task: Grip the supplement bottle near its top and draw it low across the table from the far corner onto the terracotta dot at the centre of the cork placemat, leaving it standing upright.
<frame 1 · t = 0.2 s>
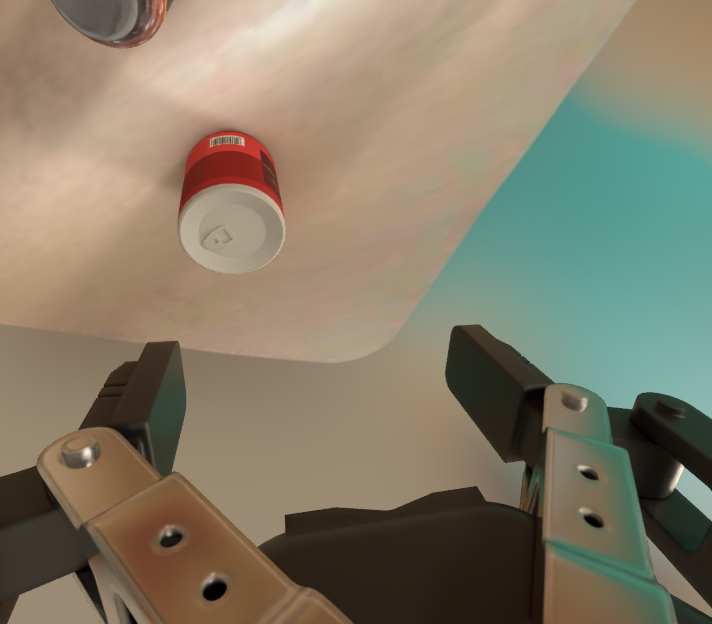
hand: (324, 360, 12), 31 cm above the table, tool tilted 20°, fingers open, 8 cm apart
canned food: (231, 168, 39), on the table
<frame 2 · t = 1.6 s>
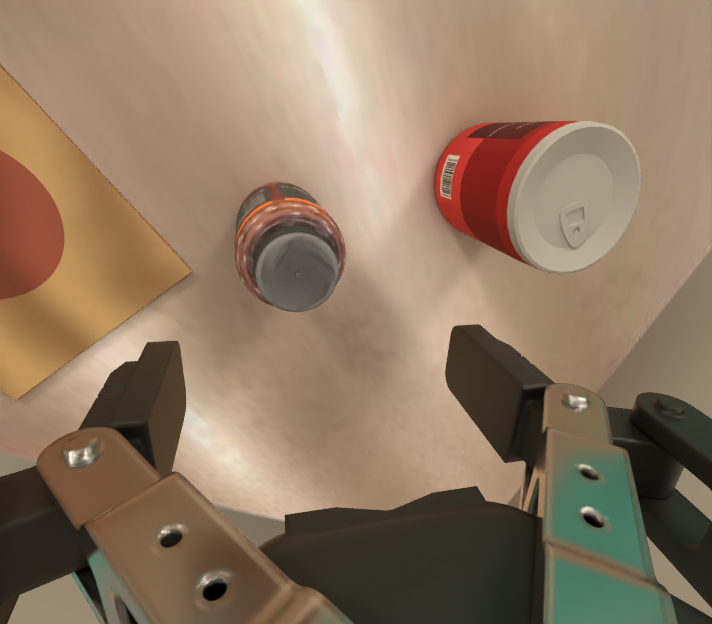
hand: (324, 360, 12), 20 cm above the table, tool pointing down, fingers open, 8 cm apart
canned food: (476, 180, 32), on the table
supplement bottle: (280, 223, 30), on the table
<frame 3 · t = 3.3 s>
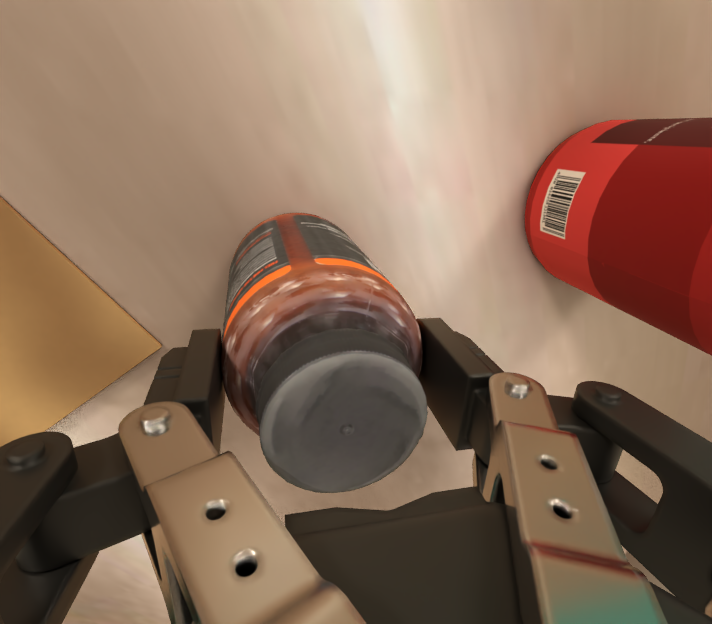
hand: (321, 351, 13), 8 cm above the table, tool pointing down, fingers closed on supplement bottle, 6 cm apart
canned food: (583, 204, 22), on the table
supplement bottle: (296, 272, 20), on the table, touching gripper
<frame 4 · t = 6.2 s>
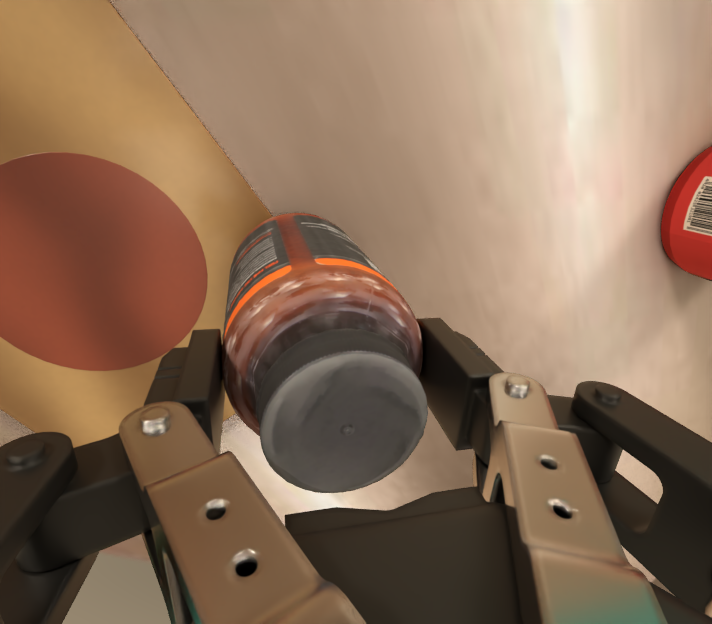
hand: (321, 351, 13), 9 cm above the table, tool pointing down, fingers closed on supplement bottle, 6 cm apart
placemat: (89, 271, 19), on the table
canned food: (709, 206, 25), on the table
supplement bottle: (296, 273, 20), point 1 cm above the table, touching gripper
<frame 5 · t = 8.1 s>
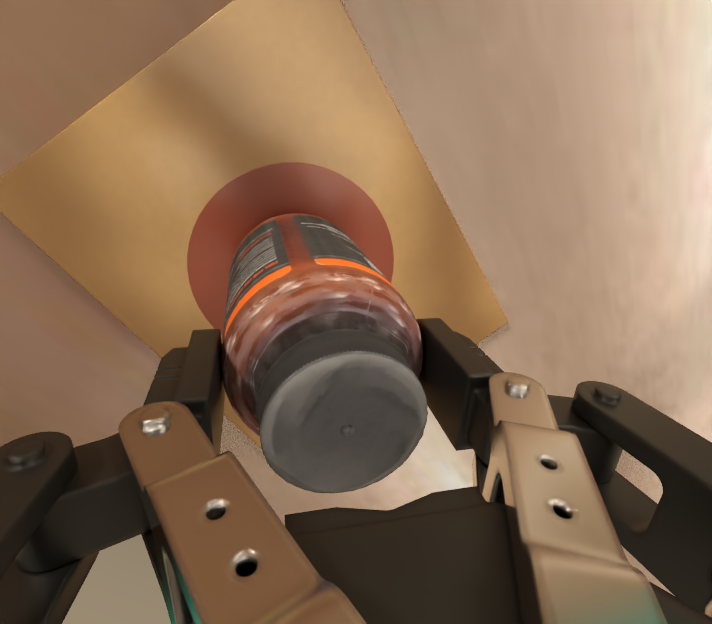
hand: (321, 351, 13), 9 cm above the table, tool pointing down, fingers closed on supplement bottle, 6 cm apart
placemat: (295, 269, 21), on the table
supplement bottle: (296, 273, 20), point 1 cm above the table, touching gripper
when the fingers open (8 cm above the table, at t = 9.1 s): supplement bottle stays where it is, resting on placemat.
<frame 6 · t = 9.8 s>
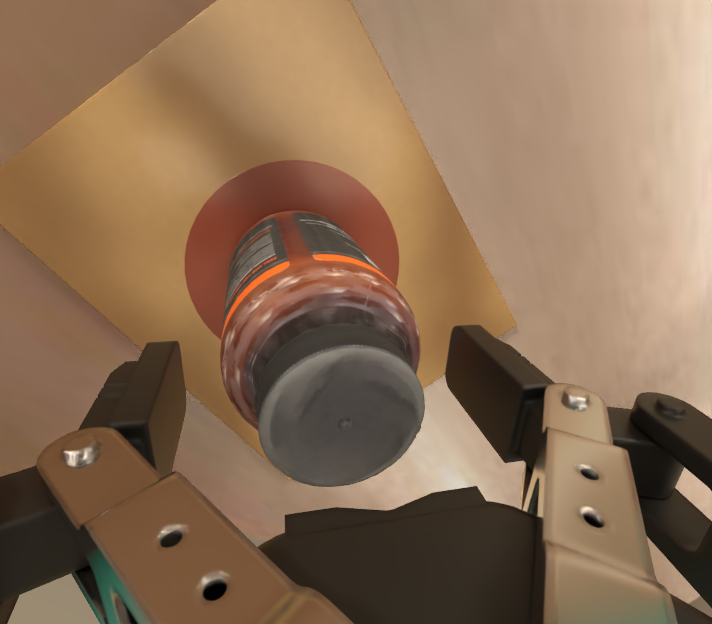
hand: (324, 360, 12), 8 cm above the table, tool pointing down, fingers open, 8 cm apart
placemat: (297, 271, 20), on the table
supplement bottle: (295, 270, 20), resting on placemat
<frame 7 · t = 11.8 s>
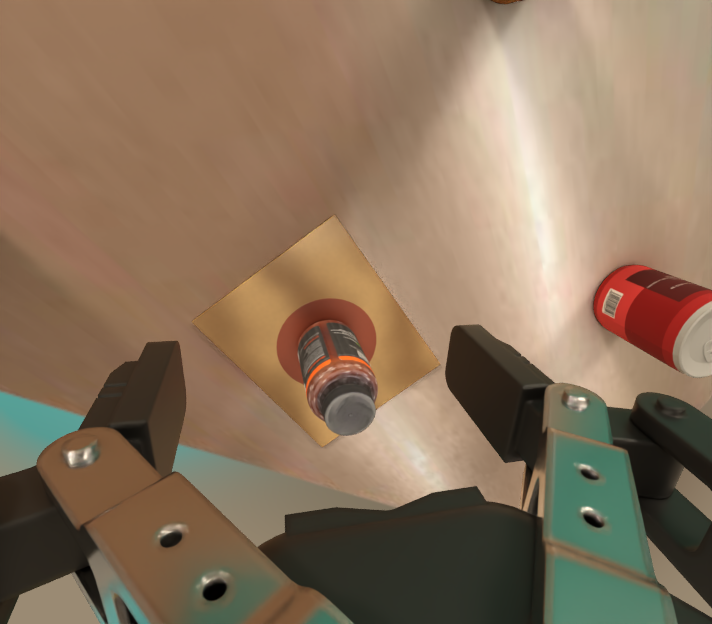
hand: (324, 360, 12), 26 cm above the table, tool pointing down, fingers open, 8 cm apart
placemat: (327, 344, 42), on the table
canned food: (619, 295, 47), on the table
supplement bottle: (326, 343, 42), resting on placemat
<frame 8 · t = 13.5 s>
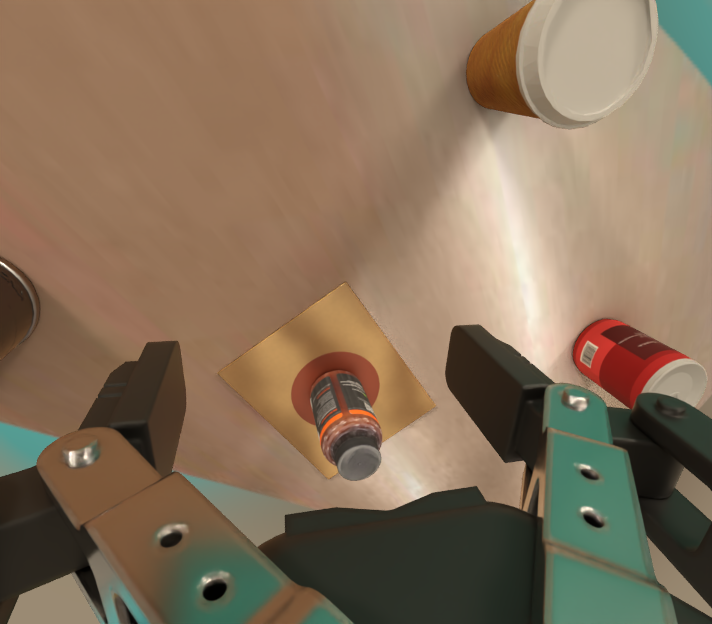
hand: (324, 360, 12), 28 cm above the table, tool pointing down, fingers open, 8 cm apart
placemat: (336, 390, 47), on the table
canned food: (596, 344, 53), on the table
disposable coffee cup: (497, 70, 37), on the table
supplement bottle: (335, 389, 47), resting on placemat
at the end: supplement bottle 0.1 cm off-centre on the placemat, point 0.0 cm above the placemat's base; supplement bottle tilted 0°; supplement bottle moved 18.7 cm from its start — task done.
